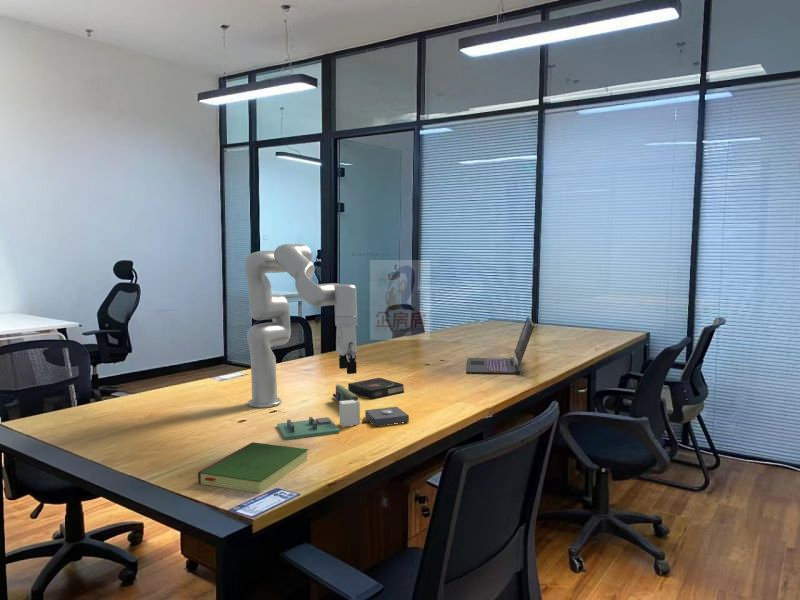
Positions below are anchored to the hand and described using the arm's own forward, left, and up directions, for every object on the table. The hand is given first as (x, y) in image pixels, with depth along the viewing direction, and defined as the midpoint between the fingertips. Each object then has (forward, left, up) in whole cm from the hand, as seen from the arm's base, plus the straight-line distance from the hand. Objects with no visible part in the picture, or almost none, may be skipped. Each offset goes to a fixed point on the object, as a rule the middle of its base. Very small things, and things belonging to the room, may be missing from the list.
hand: (347, 370), depth 199 cm
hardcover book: (+31, -35, -20) cm, 51 cm away
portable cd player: (-39, +23, -20) cm, 49 cm away
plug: (0, 0, -19) cm, 19 cm away
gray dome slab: (0, +12, -19) cm, 22 cm away
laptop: (-63, +96, -20) cm, 117 cm away
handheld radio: (-25, +5, -19) cm, 32 cm away
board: (0, -14, -19) cm, 24 cm away
